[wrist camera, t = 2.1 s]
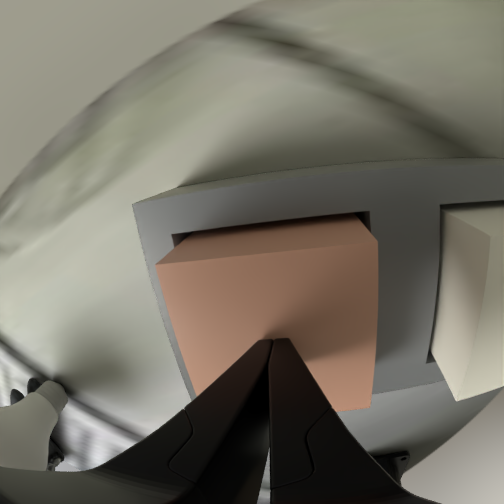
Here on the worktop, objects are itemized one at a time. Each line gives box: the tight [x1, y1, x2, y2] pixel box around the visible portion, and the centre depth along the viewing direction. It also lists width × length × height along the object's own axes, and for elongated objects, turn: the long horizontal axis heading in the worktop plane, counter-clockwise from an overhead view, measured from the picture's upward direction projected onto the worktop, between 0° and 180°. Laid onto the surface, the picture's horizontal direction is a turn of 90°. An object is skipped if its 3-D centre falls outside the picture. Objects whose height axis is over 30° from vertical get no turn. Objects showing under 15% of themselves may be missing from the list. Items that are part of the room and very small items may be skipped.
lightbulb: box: [0, 381, 68, 471], centre depth 15 cm, size 6×6×11 cm
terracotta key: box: [155, 212, 378, 412], centre depth 10 cm, size 6×6×4 cm
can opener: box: [10, 379, 64, 471], centre depth 21 cm, size 18×7×6 cm, turn 155°
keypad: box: [132, 158, 504, 400], centre depth 11 cm, size 9×17×4 cm, turn 99°
